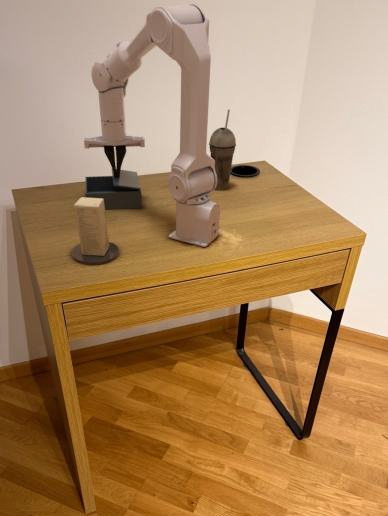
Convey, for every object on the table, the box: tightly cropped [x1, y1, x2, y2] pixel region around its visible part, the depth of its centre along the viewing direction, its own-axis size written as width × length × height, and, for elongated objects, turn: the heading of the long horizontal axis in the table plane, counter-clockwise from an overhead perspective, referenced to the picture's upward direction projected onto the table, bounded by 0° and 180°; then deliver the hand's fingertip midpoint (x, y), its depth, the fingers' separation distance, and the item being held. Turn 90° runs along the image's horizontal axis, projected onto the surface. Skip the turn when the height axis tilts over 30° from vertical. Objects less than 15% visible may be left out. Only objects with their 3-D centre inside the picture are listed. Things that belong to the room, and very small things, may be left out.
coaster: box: [71, 241, 120, 266], centre depth 106 cm, size 10×10×1 cm
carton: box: [84, 175, 143, 211], centre depth 127 cm, size 14×12×4 cm
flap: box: [111, 169, 142, 191], centre depth 126 cm, size 7×12×1 cm, turn 10°
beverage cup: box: [208, 109, 237, 191], centre depth 132 cm, size 7×7×20 cm
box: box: [73, 196, 110, 256], centre depth 102 cm, size 5×4×11 cm
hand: (116, 176), depth 125 cm, fingers closed
